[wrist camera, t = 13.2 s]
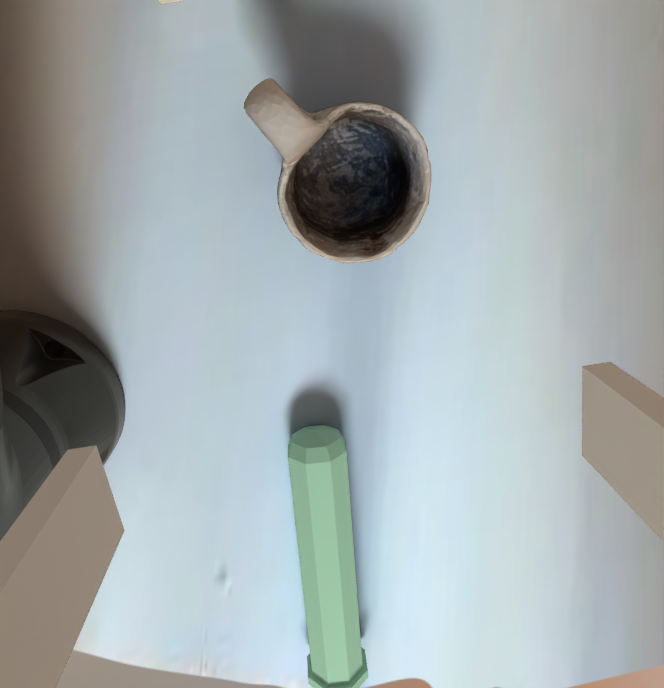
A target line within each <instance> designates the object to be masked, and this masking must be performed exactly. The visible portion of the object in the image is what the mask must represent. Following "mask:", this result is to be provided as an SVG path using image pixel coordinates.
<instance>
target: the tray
mask: <svg viewBox="0 0 664 688" xmlns="http://www.w3.org/2000/svg"><path fill="white" fill-rule="evenodd" d="M158 1H159V2H160V3H161V4H165V3H172V2H178V1H185V0H158Z"/></svg>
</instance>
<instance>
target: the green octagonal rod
mask: <svg viewBox="0 0 664 688" xmlns="http://www.w3.org/2000/svg"><path fill="white" fill-rule="evenodd" d="M288 460H289V469H290V478H291V487H292V496H293V505H294V514H295V523H296V532H297V540H298V549H299V558H300V567H301V576H302V585H303V594H304V603H305V612H306V621H307V630H308V638H309V647H310V654H309V655H308V656H307V660H308V681H309V684H310V685H311V686H312V687H314V688H359V687H360V686H361V684H362V683H363V682H364V681H365V680H366V679H367V678H368V669H367V663H366V656H365V649H363V648H362V647H361V639H360V625H359V612H358V599H357V585H356V572H355V558H354V545H353V532H352V518H351V505H350V491H349V478H348V465H347V451H346V446H345V440H344V438H343V437H342V435H341V433H340V432H339V430H338V429H335V428H332V427H329V426H326V425H316V426H306V427H304V428H302V429H300V430H299V431H297V432H295V433H293V434H292V437H291V439H290V442H289V445H288Z"/></svg>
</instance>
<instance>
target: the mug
mask: <svg viewBox="0 0 664 688" xmlns="http://www.w3.org/2000/svg"><path fill="white" fill-rule="evenodd" d="M244 109H245V111H246V113H247V114H248V116H249V117H250V118H251V119H252V121H253V122H254V123H255V124H256V126H257V127H258V128H259V129H260V131H261V132H262V133H263V134H264V135H265V136H266V138H267V139H268V140H269V141H270V142H271V143H272V144H273V146H274V147H275V148H276V149H277V151H278V152H279V153H280V154H281V155H282V157H283V161H282V168H281V174H280V177H279V182H278V189H277V197H278V204H279V208H280V211H281V215H282V217H283V219H284V221H285V223H286V225H287V226H288V228H289V230H290V232H291V233H292V234H293V235H294V236H295V237H296V238H297V239H298V240H299V241H300V243H301V244H302V245H303V246H304V247H305V248H307V249H308V250H309V251H311V252H313V253H315V254H318V255H320V256H323V257H326V258H329V259H332V260H335V261H338V262H341V263H358V262H368V261H373V260H377V259H380V258H383V257H385V256H387V255H389V254H391V253H392V252H394V251H395V250H396V249H397V247H398V246H400V245H402V244H403V243H404V242H405V241H406V240H407V239H408V238H409V237H410V236H411V235H412V234H413V233H414V231H415V230H416V229H417V227H418V225H419V224H420V222H421V220H422V217H423V215H424V213H425V211H426V208H427V206H428V203H429V193H430V186H431V165H430V162H429V159H428V150H427V147H426V144H425V142H424V139H423V137H422V136H421V135H420V133H419V132H418V131H417V129H416V128H415V127H414V126H413V125H412V124H411V123H410V122H409V121H408V120H407V119H406V118H404V117H403V116H402V115H400V114H399V113H397V112H395V111H393V110H391V109H389V108H387V107H385V106H382V105H379V104H373V103H363V102H352V103H346V104H343V105H340V106H336V107H332V108H328V109H324V110H322V111H319V112H315V113H309V112H306V111H305V110H303V109H302V108H301V107H300V106H298V105H297V104H296V103H295V102H294V101H293V100H292V99H291V98H290V96H289V95H288V94H287V93H286V92H285V91H284V90H283V89H282V88H281V87H280V86H279V85H278V84H277V83H276V82H275V81H274V80H273V79H270V78H268V79H266V80H264V81H262V82H261V83H259V84H258V85H256V86H255V87H254V88H253V89H252V90H251V91H250V93H249V94H248V96H247V98H246V100H245V102H244Z"/></svg>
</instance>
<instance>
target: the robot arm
mask: <svg viewBox="0 0 664 688" xmlns="http://www.w3.org/2000/svg"><path fill="white" fill-rule="evenodd" d="M124 420H125V402H124V396H123V391H122V387H121V385H120V382H119V379H118V377H117V375H116V373H115V371H114V369H113V367H112V366H111V364H110V363H109V361H108V360H107V358H106V357H105V356H104V355H103V353H102V352H101V351H100V350H99V349H98V348H97V347H96V346H95V345H94V344H93V343H92V342H91V341H90V340H89V339H87V338H86V337H85V336H84V335H82V334H81V333H79V332H78V331H76V330H75V329H73V328H71V327H70V326H68V325H66V324H64V323H62V322H59V321H57V320H55V319H52V318H49V317H46V316H43V315H39V314H35V313H30V312H22V311H0V688H56V687H57V684H58V682H59V680H60V677H61V675H62V673H63V670H64V668H65V666H66V664H67V661H68V659H69V657H70V654H71V652H72V650H73V647H74V645H75V643H76V641H77V638H78V636H79V634H80V631H81V629H82V627H83V624H84V622H85V620H86V618H87V615H88V613H89V611H90V608H91V606H92V604H93V601H94V599H95V597H96V594H97V592H98V590H99V588H100V585H101V583H102V581H103V578H104V576H105V574H106V571H107V569H108V567H109V565H110V562H111V560H112V558H113V555H114V553H115V551H116V548H117V546H118V544H119V542H120V539H121V537H122V535H123V532H124V528H123V525H122V522H121V519H120V516H119V513H118V510H117V507H116V504H115V501H114V497H113V494H112V491H111V488H110V485H109V482H108V479H107V476H106V473H105V470H104V467H103V465H104V464H105V463H106V461H107V460H108V458H109V456H110V455H111V453H112V451H113V450H114V448H115V446H116V444H117V443H118V440H119V438H120V436H121V433H122V429H123V426H124ZM582 456H583V457H584V458H585V459H586V460H587V461H588V462H589V463H590V464H591V465H592V466H593V467H594V468H595V470H596V471H597V472H598V473H599V474H600V475H601V476H602V477H603V478H604V479H605V480H606V481H607V482H608V483H609V484H610V486H611V487H612V488H613V489H614V490H615V491H616V492H617V493H618V494H619V495H620V496H621V497H622V498H623V499H624V500H625V502H626V503H627V504H628V505H629V506H630V507H631V508H632V509H633V510H634V511H635V512H636V513H637V514H638V515H639V516H640V518H641V519H642V520H643V521H644V522H645V523H646V524H647V525H648V526H649V527H650V528H651V529H652V530H653V531H654V532H655V534H656V535H657V536H658V537H659V538H660V539H661V540H662V541H663V542H664V398H663V397H662V396H660V395H659V394H657V393H656V392H654V391H653V390H651V389H650V388H648V387H647V386H645V385H644V384H642V383H641V382H640V381H638V380H637V379H635V378H634V377H632V376H631V375H629V374H628V373H626V372H625V371H623V370H622V369H620V368H619V367H617V366H616V365H614V364H613V363H612V362H606V363H600V364H594V365H588V366H582Z"/></svg>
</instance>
